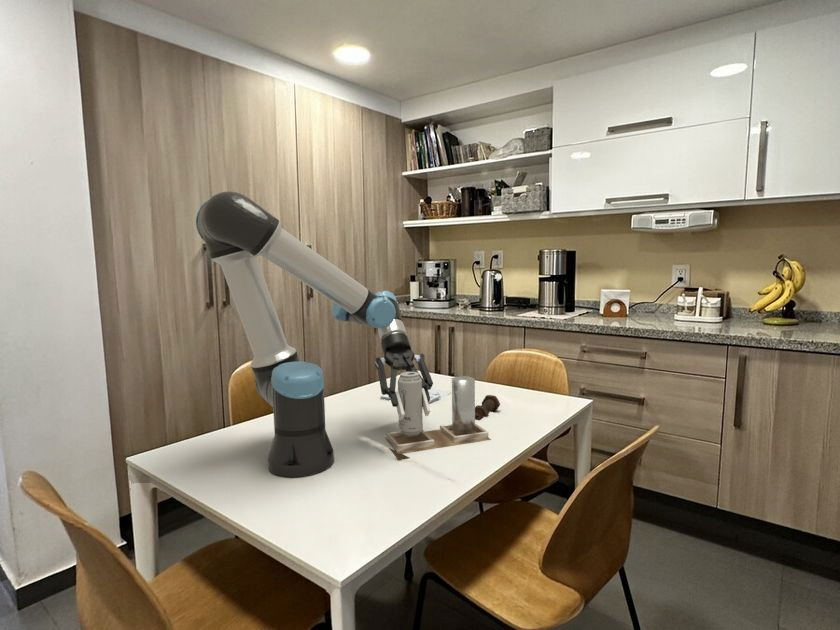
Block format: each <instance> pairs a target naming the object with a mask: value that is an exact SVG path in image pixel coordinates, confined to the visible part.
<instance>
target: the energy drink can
mask: <svg viewBox="0 0 840 630" xmlns="http://www.w3.org/2000/svg"><path fill="white" fill-rule="evenodd" d="M418 372H419V371H418ZM418 372H407V371H403V372H401V373H399V377H398V379H397V389H398V391H399V394H400V398H401V402H402V406H403V409H404V413H405V415H404V417H403V419H402V420H400V419H399V418H398V429H399V431H401V433H403V434H405V435H416V434H419V433H420V432H421V430H423V425H424V424H423V407H422V380H421V378H420V376H419V374H420V373H418Z"/></svg>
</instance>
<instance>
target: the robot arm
mask: <svg viewBox="0 0 840 630" xmlns="http://www.w3.org/2000/svg"><path fill="white" fill-rule="evenodd" d="M195 217H196V220H195V225H196V230H197V233H198V235H199V236H200V238H201V239H202V241H204V243H205V246H206V249H207V251H208V254H209V257H210V260H211V261H212V262H214V263H217V264H218V265H220V266H221V270H222V272H223V275H224V278H225V280H226V284H227V287H228V288H229V292H230V295H231V297H232V300H233V303H234V305H235V307H236V310H237V313H238V315H239V319H240V322H241V323H242V327H243V330H244V333H245V335H246V338H247V340H248V344H249V345H250V349H251V351H252V354H253V359H252V360H251V362H250V367H251V370H252V373H253V375H254V378H255V379H254V380H255V381H254V383H255V388H256V391H257V393H258V395H259V396H260V398H262V399H263V400H264V401H265V402H266V403H268V404H269V405H270V406H271V407H272V411H273V429H274V430H273V431H274V432H273V433H274V436H273V439H272V443H271V447H270V450H269V454H268V458H267V466H268V471H270V473H271V474H274V475H275V476H280V477H285V478H292V477H293V478H298V477H300V478H301V477H307V476H312V475H315V474H318V473H321V472H324V471H325V470H327V469H328V468H330V467H332V466H333V464H334V462H335V453H334V452H335V451H334V449H333V445H332V443H331V440H330V438H329V435H328V433H327V430H326V409H325V408H326V406H325V404H326V403H325V379H324V373H323V369H322V368H321V367H320V365H317V364H315V363H313V362H307V361H301V360H300V357H299V355H298V353H297V349H296V348H295V347H293V346H290V345H289V344H288V342H287V338H286V336H285V332H284V330H283V327H282V324H281V322H280V319H279V316H278V314H277V310H276V307H275V305H274V304H275V303H274V301H273V299H272V295H271V292H270V290H269V287H268V285H267V282H266V279H265V276H264V272H263V269H262V267H261V264H260V261H259V258H258V257H263V258H265V259H266V260H268V261H269V262H271V263H273V264H274V265H276V266H277V267H278V268H280V269H282V270H283V271H285V272H286V273H287V274H289V275H291V276H293V277H294V278H295V279H297V280H299V281H300V282H301V283H303V284H305V285H306V286H307V287H309V288H310V289H312V290H314V291H315V292H316V293H318V294H320V296H323V297H324V298H326V299H327V300H328V301H330V302H332V305H331V314H332V316H333V318H334V319H335V320H336V321H342V322H343V323H344V322H347V323H349V322H351V323H355V324H360V325H363V326H368V327H371V328H374V329H377V333H378V336H379V340H380V344H381V349H382V353H383V357H376V358H375V361H374V367H375V368H376V370H377V374H378V380H379V385H380V391H381V395H385V394H387V395H388V396H389V398H390V399H391V401H390V402H391V405H392V408H396V410H397V414H398V420H399V419H400V420H402V419H403V417H404V415H405V413H404V409H403V406H402V402H401V398H400V394H399V391H396V392H395V390H396V388H397V387H396V386H397V385H396V384H397V375H398V373H397V372H398V371H402V370H403V371H405V372H418V373H419V372H420V373H419V376H420V378H421V380H422V411H423V413H424V416H425V417H428V416H429V415H430V413H431V407H430V403H428V402H429V401H430V395H429V392H428V390H430V389H432V387H433V385H434V381H433V378H432V376H431V375H430V372H429V369H428V367H427V364H426V362H425V360H426V359H425V354H424V353H420V354H415V352H413V351H412V347H411V344H410V340H409V337H408V333H407V330H406V327H405V325H404V320H403V318H402V317H403V316H402V314H401V310H400V306H399V302H398V300H397V298H396V295H395V294H394V293H392V292H391V291H389V290H382V291H378V292H376V293H375V292H373V291H372V290H370V289H368V288H367V287H366V286H364V285H363V284H361V283H360V282H359V281H357V280H356V279H354V278H353V277H351V276H350V275H349V274H347V273H346V272H344V270H342V269H340V268H339V267H337V266H336V265H335V264H333V263H332V262H330V261H329V260H328V259H326V258H325V257H323V256H322V255H321V254H319V253H318V252H316V251H315V250H314V249H312V248H311V247H310V246H308V245H306V243H303V242H302V240H299V239H298V238H297V237H295V236H294V235H292V234H291V233H290V232H288V231H287V230H285V229H284V228H283V227H282V223H281V221H280V220H279V219H278V218H277V217H275V216H273V215H272V214H271V213H269V212H268V211H267V210H266V209H264V208H263V207H262V206H261V205H259V204H258V203H257V202H255V201H254V200H252V199H251V198H250V197H248V196H246V195H244V194H242V193H239V192H237V191H222V192H218V193H216V194H214V195H213V196H211V197H210V198H209V199H207V200H206V201H205V202H204V203H203V204H202V205H201V206H200V207H199V209H198V212H197V213H196V216H195ZM414 360H415V363H416V364H417V366H418V369H419V371H418V370H417V368H416V367H415V363H414V362H413V361H414ZM385 364H386V365H387V366H388V367H390V378H389V386H388V382H387V381H388V380H387V375H386V369H385Z"/></svg>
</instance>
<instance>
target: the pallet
mask: <svg viewBox="0 0 840 630" xmlns="http://www.w3.org/2000/svg"><path fill="white" fill-rule="evenodd" d="M385 434H386V437H384V439H385V440H386V441H387V442H388V443H389V445H390V447H392V448H390V447H389V448H388V449H389V450H390V452H391V453H392V454H393V455H394V457H395V458H396V459H397V461H402V459H403V460H409V459H410V456H407V455H405V454H409V453H415V452H416V453H417V452H420V451H421V452H422V451H427V450H428V451H429V450H433V449H441V448H442V449H443V448H447V447H454V446H460V445H467V444H474V443H480V442H485V441H491V440H492V439H491V438H490V437H489V431H487V430H486V429H484V428H483V427H481V426H480V425H478V424H477V423H475V433H473V434H467V435H460V436H455V435H454V434H453V433H452V423H449V424H443V425H439V429H434V430H426V431H424V429H422V430H421V432H420V433H419V434H416V435H405V434H403V433H401V430H399V431H392V432H387V433H385Z"/></svg>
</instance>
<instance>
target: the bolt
mask: <svg viewBox="0 0 840 630" xmlns="http://www.w3.org/2000/svg"><path fill="white" fill-rule="evenodd" d="M500 406H501V403H500V400H499V399H498V397H497V396H496V395H492V394H487V395H485V396H484V398H483V400H482V402H481V405H475V421H481V420H482V419H483V418H486V417H487V418H488V416H489V413H492V412H493V413H496V412H497V411H498V409H499V407H500Z"/></svg>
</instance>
